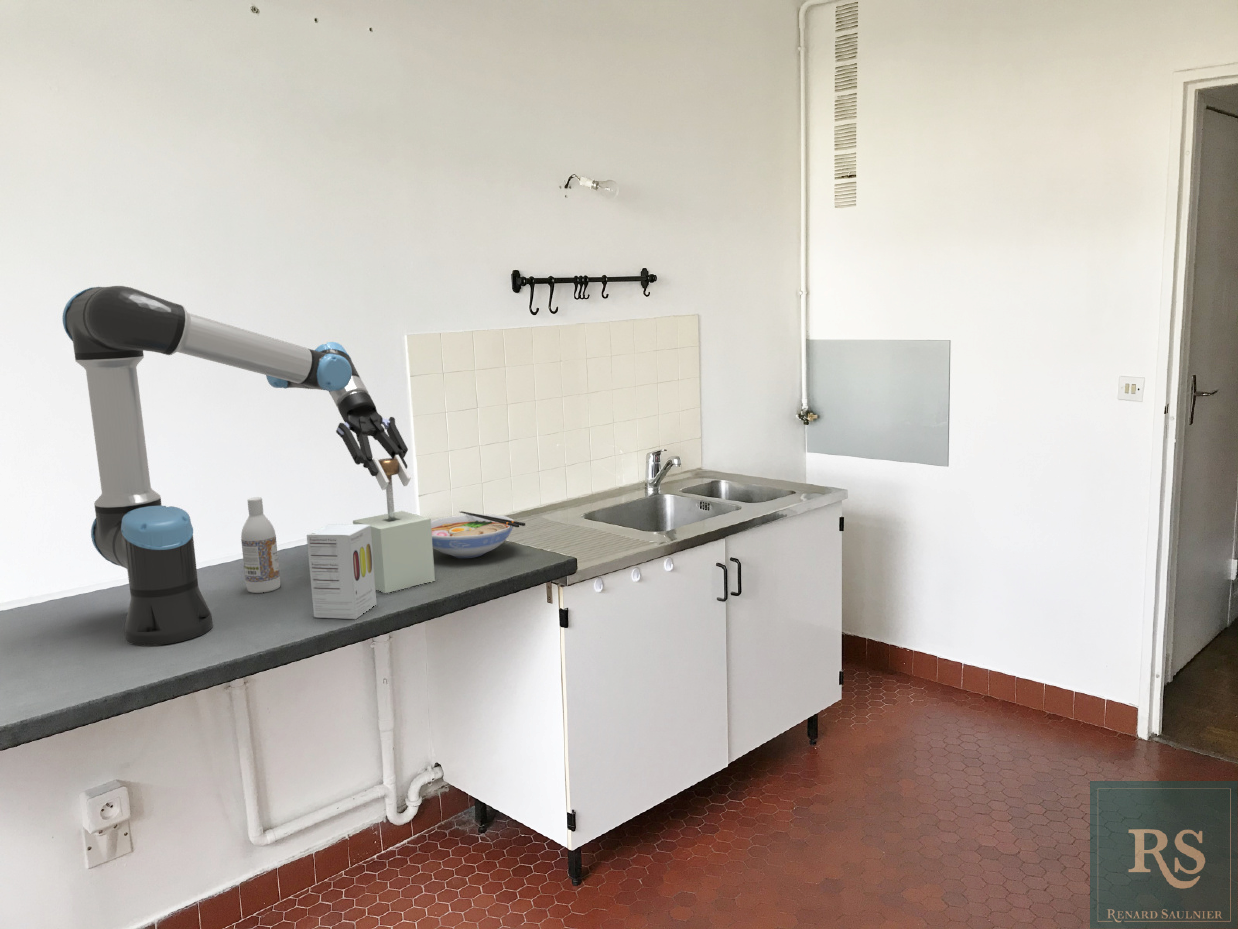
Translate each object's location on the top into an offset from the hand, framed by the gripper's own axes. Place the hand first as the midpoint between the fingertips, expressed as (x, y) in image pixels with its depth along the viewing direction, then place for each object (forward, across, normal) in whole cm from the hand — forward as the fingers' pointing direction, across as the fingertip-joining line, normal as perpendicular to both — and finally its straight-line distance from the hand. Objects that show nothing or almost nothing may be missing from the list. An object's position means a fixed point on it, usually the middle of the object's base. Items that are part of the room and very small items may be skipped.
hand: (396, 483), depth 205 cm
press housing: (+13, 0, -18) cm, 22 cm away
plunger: (+8, 0, -12) cm, 14 cm away
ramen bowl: (+8, -24, -23) cm, 34 cm away
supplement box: (+21, +17, -11) cm, 29 cm away
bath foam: (+1, +22, -31) cm, 38 cm away
